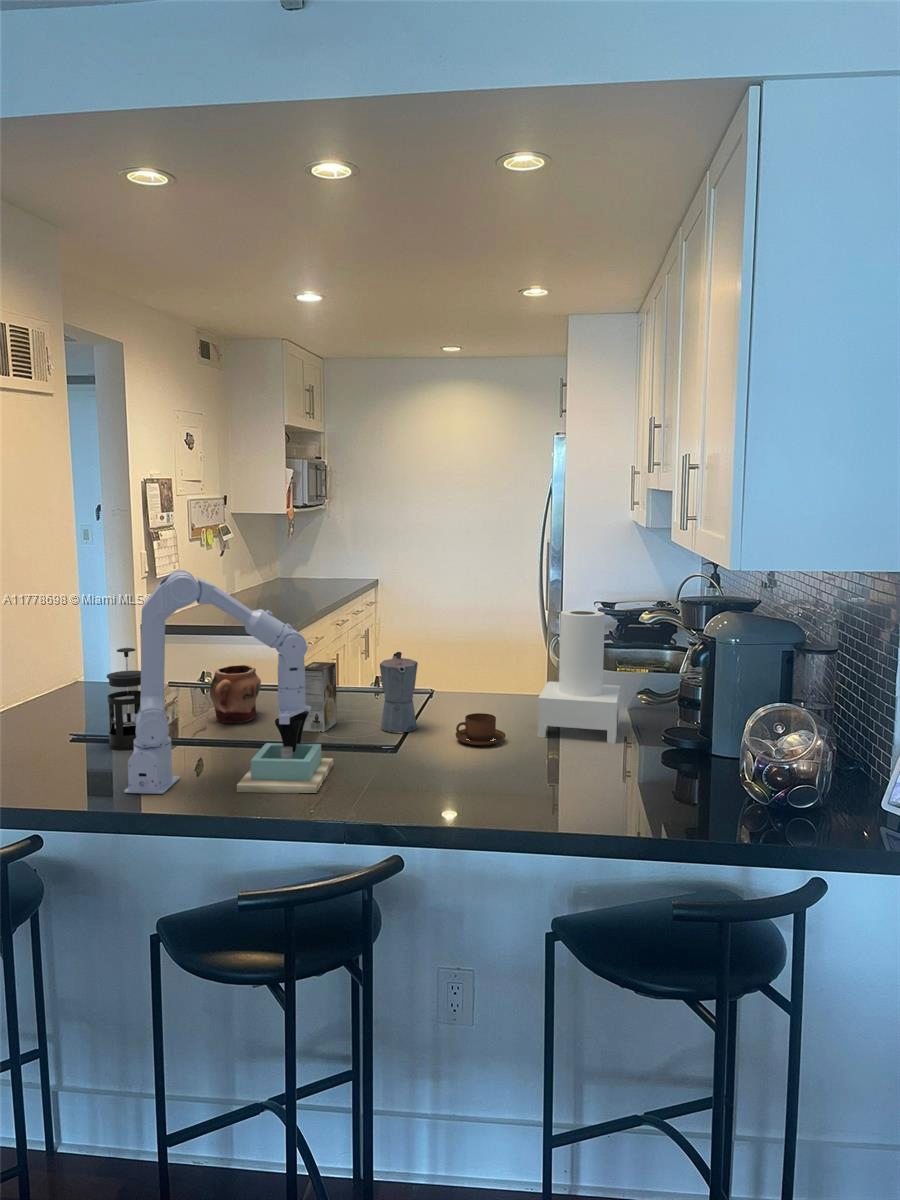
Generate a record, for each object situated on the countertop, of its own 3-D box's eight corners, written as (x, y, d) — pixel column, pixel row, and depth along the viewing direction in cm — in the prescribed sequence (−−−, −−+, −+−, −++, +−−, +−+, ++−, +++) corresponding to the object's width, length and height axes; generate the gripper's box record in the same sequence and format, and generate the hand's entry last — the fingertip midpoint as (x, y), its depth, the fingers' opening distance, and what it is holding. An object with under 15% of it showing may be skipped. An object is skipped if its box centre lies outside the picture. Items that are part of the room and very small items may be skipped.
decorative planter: (244, 732, 213) (242, 677, 211) (197, 730, 214) (195, 676, 212) (270, 712, 232) (269, 661, 231) (226, 710, 234) (225, 660, 232)
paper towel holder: (537, 737, 210) (539, 616, 206) (547, 718, 228) (549, 606, 224) (615, 743, 206) (619, 619, 202) (618, 723, 224) (622, 609, 220)
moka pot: (385, 738, 208) (384, 657, 206) (373, 721, 223) (373, 646, 221) (423, 735, 211) (423, 655, 209) (409, 719, 226) (409, 644, 223)
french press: (98, 749, 198) (93, 651, 195) (119, 737, 208) (115, 644, 205) (145, 751, 197) (141, 653, 194) (165, 740, 206) (161, 645, 203)
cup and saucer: (478, 752, 198) (478, 726, 197) (445, 740, 207) (445, 716, 207) (515, 743, 206) (516, 718, 205) (482, 732, 215) (482, 708, 214)
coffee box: (314, 721, 223) (313, 661, 221) (337, 723, 222) (336, 662, 220) (301, 731, 214) (300, 668, 212) (325, 732, 213) (324, 669, 211)
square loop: (309, 780, 173) (309, 761, 173) (251, 779, 174) (250, 760, 173) (321, 762, 185) (321, 744, 185) (266, 761, 186) (266, 743, 185)
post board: (316, 793, 170) (316, 762, 169) (236, 792, 171) (236, 760, 170) (333, 765, 188) (332, 736, 187) (261, 763, 189) (260, 734, 188)
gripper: (302, 694, 175) (303, 759, 177) (317, 679, 189) (317, 739, 191) (268, 694, 175) (269, 758, 177) (285, 678, 190) (286, 738, 191)
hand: (292, 748), depth 184 cm, fingers open, 4 cm apart
